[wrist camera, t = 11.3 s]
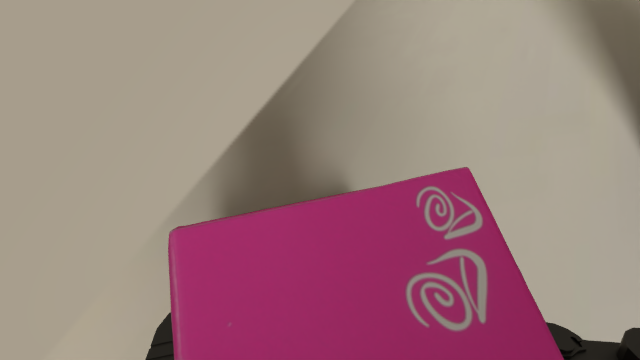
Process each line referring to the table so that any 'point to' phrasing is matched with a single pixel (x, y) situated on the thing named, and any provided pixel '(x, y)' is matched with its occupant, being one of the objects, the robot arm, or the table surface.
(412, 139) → the table surface
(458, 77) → the table surface
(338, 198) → the supplement box
